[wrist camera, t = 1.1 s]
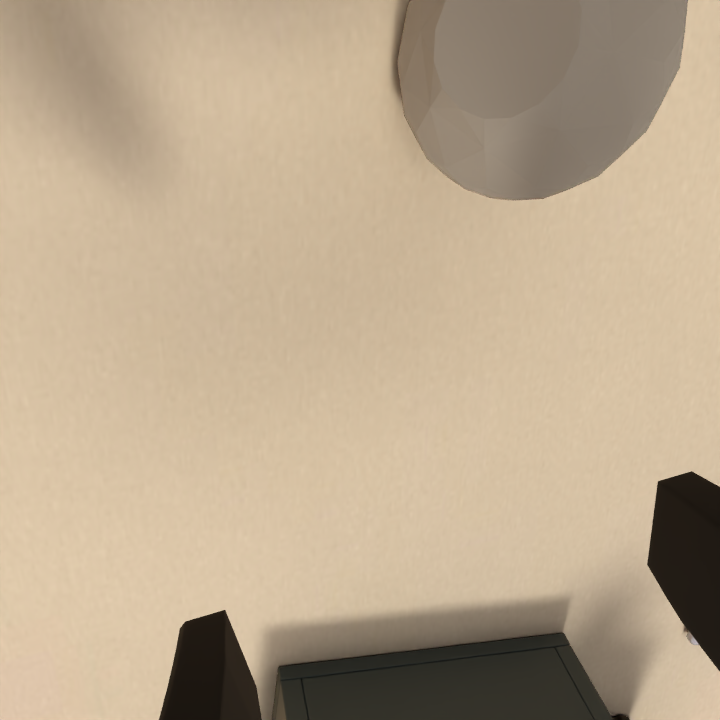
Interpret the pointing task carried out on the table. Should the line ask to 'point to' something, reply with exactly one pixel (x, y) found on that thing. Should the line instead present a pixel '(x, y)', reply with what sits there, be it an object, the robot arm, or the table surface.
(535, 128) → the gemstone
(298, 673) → the bin
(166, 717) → the robot arm
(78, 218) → the table surface
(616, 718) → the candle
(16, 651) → the table surface
